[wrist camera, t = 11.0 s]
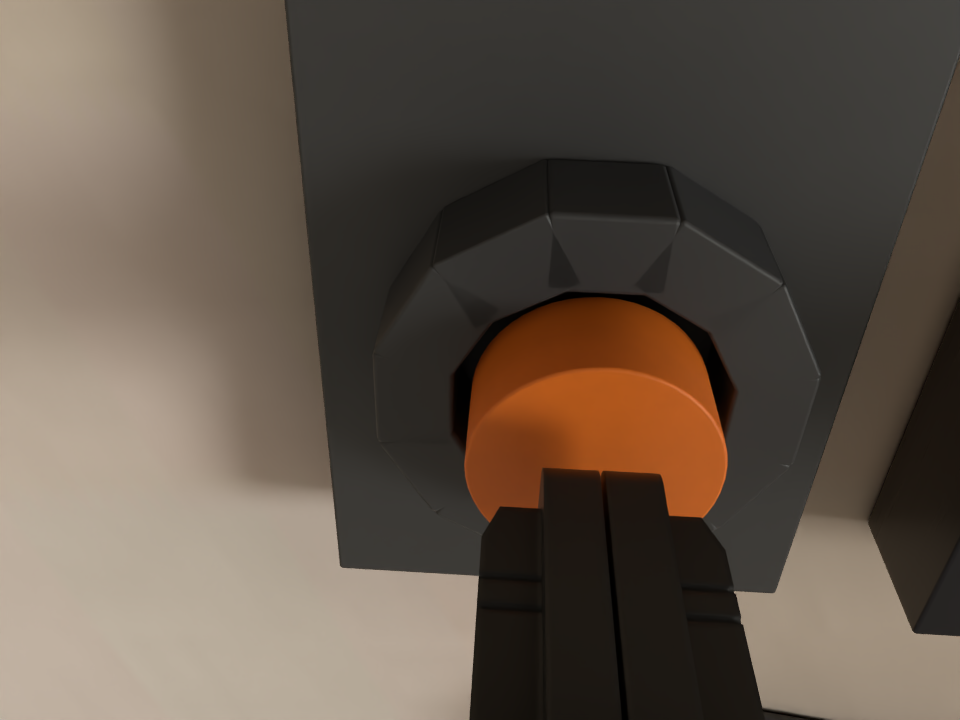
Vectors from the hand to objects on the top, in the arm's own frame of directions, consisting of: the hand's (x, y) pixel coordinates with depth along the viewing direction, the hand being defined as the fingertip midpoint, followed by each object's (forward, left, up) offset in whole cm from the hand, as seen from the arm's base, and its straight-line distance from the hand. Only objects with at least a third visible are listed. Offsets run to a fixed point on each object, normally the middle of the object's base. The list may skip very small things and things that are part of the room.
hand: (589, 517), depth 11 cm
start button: (0, 0, -3) cm, 3 cm away
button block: (0, 0, -6) cm, 6 cm away
